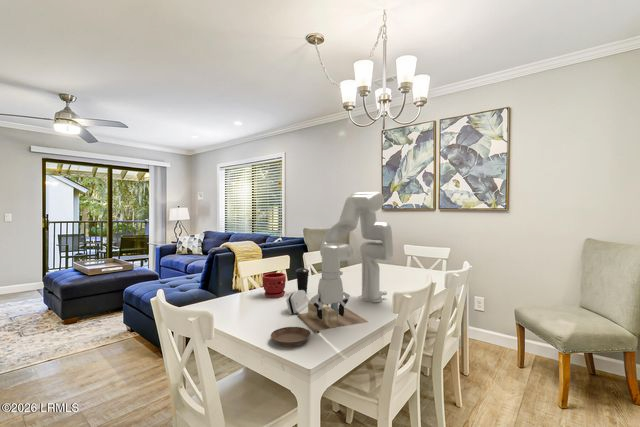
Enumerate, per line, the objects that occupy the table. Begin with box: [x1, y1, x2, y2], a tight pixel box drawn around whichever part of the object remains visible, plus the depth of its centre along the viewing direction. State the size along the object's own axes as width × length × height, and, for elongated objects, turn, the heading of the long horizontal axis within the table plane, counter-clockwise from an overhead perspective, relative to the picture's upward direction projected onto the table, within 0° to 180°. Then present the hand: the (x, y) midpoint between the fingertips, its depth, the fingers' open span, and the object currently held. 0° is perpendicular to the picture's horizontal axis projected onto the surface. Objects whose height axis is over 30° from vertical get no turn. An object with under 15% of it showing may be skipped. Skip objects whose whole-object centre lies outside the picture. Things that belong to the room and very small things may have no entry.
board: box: [297, 307, 369, 334], centre depth 136 cm, size 24×21×1 cm
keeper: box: [330, 303, 339, 316], centre depth 138 cm, size 5×5×8 cm
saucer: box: [270, 326, 312, 348], centre depth 115 cm, size 15×15×3 cm
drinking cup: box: [295, 259, 310, 295], centre depth 178 cm, size 8×8×20 cm
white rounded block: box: [286, 289, 309, 315], centre depth 151 cm, size 17×5×10 cm, turn 160°
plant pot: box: [261, 272, 287, 299], centre depth 175 cm, size 13×13×12 cm
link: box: [307, 299, 337, 328], centre depth 135 cm, size 20×9×6 cm, turn 23°
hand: (330, 316), depth 127 cm, fingers open, 9 cm apart
